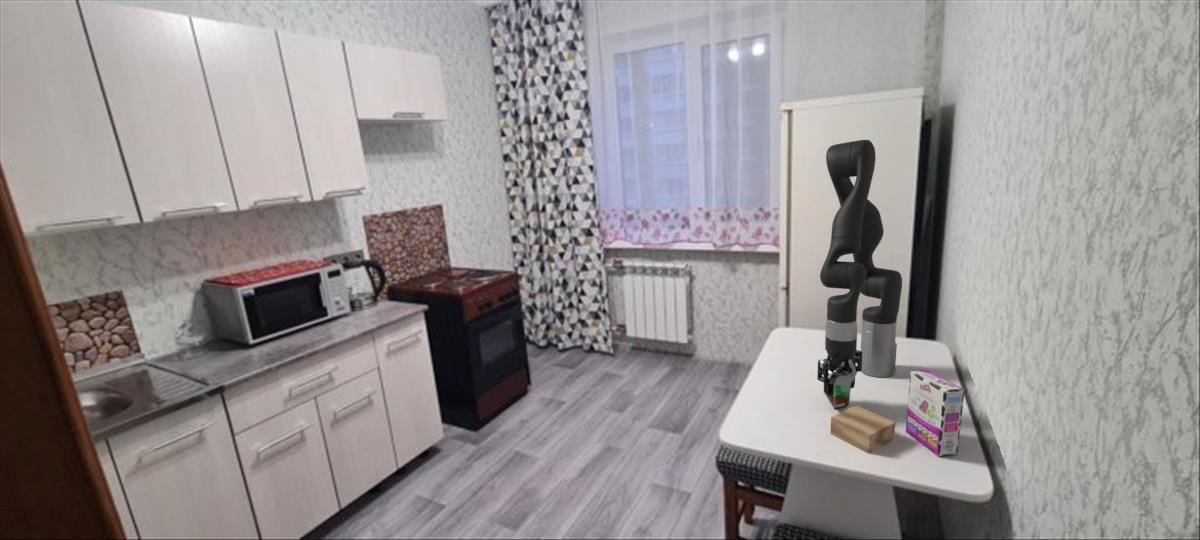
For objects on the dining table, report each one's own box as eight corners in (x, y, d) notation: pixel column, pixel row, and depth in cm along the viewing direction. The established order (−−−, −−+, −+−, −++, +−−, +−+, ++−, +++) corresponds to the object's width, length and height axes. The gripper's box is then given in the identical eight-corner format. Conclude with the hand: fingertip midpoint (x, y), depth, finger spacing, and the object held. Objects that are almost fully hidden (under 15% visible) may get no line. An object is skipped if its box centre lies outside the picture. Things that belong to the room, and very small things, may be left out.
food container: (860, 412, 127) (862, 377, 125) (836, 412, 128) (836, 378, 126) (845, 389, 139) (845, 357, 137) (822, 389, 140) (822, 358, 138)
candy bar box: (959, 455, 111) (966, 389, 107) (938, 457, 110) (945, 391, 107) (923, 429, 122) (928, 368, 118) (904, 431, 121) (909, 370, 117)
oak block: (855, 422, 127) (856, 405, 126) (893, 440, 118) (895, 422, 117) (830, 435, 122) (831, 417, 121) (868, 454, 114) (869, 435, 113)
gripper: (848, 325, 135) (846, 378, 139) (809, 336, 130) (808, 392, 134) (872, 333, 128) (870, 389, 132) (832, 345, 123) (831, 403, 127)
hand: (839, 390), depth 133 cm, fingers closed on food container, 7 cm apart
